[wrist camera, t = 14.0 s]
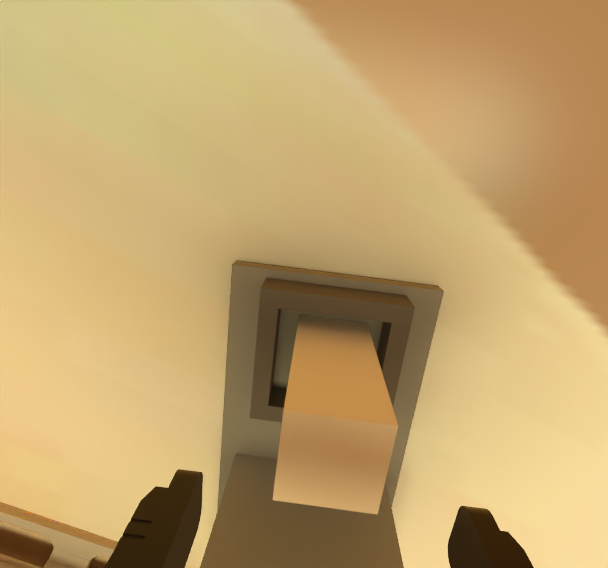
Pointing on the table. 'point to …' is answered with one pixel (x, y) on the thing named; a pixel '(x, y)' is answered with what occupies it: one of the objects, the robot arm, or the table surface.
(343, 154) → the table surface
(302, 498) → the plug
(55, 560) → the network device
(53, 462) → the table surface
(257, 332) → the grey stepped block
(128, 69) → the table surface
